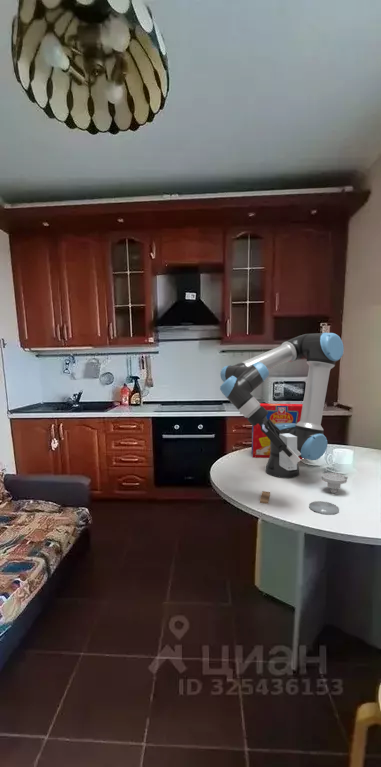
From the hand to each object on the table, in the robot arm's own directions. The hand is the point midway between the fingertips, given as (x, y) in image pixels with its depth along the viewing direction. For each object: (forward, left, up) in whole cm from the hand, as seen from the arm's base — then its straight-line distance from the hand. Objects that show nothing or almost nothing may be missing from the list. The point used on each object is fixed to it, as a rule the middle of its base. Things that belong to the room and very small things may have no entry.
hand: (297, 459), depth 132 cm
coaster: (0, +9, -17) cm, 20 cm away
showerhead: (-18, +14, -18) cm, 29 cm away
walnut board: (-3, -12, -17) cm, 21 cm away
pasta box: (-64, -10, -18) cm, 67 cm away
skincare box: (0, -4, -4) cm, 5 cm away
